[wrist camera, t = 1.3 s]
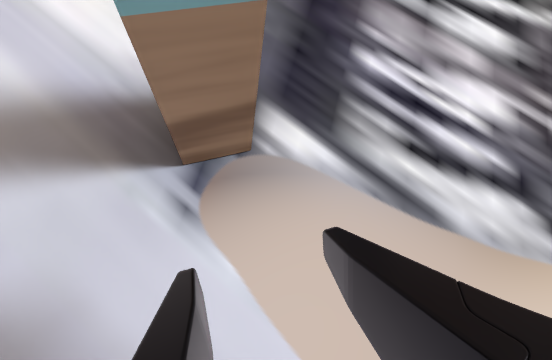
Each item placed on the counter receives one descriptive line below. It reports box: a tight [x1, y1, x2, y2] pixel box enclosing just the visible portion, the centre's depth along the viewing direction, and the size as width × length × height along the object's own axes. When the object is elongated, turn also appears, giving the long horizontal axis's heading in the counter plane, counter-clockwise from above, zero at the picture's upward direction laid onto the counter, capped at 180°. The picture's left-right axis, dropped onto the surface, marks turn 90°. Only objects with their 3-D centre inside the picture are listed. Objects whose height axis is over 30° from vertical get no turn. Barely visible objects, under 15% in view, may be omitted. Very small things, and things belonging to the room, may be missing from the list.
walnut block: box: [114, 0, 267, 165], centre depth 17 cm, size 5×5×14 cm
